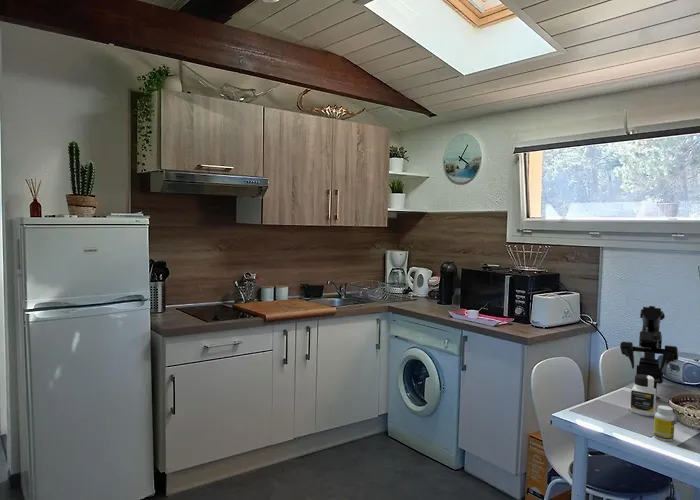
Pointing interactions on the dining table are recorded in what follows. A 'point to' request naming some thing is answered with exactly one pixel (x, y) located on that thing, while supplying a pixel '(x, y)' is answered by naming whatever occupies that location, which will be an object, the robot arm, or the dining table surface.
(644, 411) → the white round dome
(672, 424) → the supplement bottle
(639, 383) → the medicine bottle
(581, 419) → the dining table surface
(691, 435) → the dining table surface
